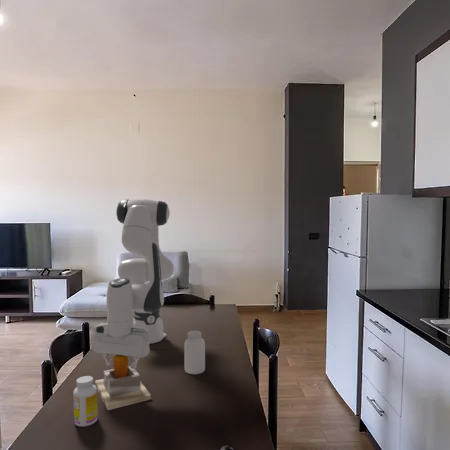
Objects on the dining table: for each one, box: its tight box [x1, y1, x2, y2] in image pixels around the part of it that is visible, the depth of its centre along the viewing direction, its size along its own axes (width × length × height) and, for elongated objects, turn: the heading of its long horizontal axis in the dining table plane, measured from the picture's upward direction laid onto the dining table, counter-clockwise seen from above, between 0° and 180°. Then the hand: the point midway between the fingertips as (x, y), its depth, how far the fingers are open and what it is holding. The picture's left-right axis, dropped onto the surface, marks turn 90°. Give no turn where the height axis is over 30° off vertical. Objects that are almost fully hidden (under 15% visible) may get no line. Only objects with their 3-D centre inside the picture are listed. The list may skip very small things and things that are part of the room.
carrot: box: [112, 354, 129, 379], centre depth 134 cm, size 5×5×15 cm
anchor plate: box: [94, 364, 152, 411], centre depth 134 cm, size 20×14×6 cm
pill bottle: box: [183, 330, 206, 375], centre depth 151 cm, size 8×8×15 cm
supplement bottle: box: [72, 375, 99, 427], centre depth 116 cm, size 7×7×13 cm
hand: (121, 366), depth 134 cm, fingers open, 8 cm apart
